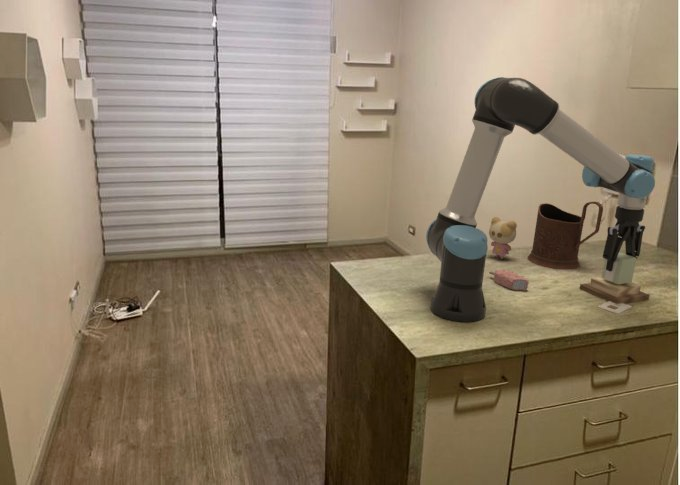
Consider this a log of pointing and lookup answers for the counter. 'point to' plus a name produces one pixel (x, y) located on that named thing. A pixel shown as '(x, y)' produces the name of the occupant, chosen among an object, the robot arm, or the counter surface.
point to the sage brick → (622, 268)
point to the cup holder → (559, 237)
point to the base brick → (614, 291)
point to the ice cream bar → (510, 280)
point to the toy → (502, 236)
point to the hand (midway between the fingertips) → (616, 279)
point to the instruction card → (614, 307)
